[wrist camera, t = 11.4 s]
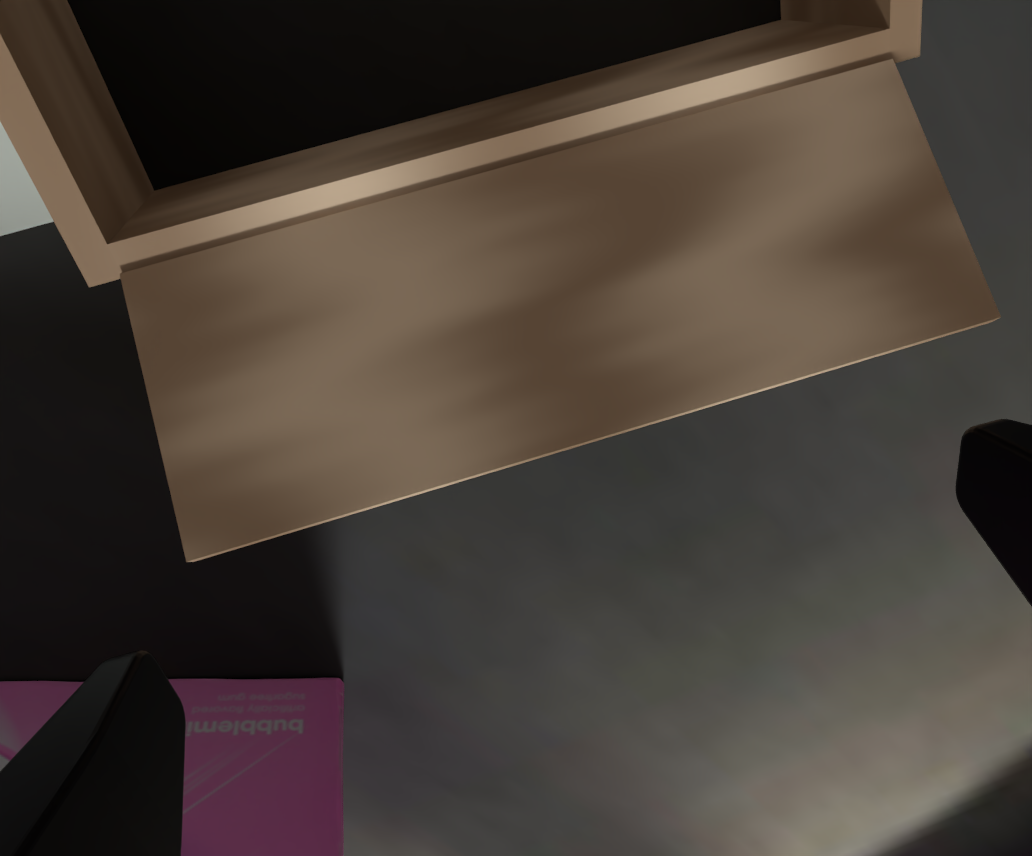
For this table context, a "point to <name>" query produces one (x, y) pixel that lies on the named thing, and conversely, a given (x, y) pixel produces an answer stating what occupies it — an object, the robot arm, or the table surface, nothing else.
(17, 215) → the mat
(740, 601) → the table surface
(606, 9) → the table surface
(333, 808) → the gum box
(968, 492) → the robot arm
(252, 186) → the carton
